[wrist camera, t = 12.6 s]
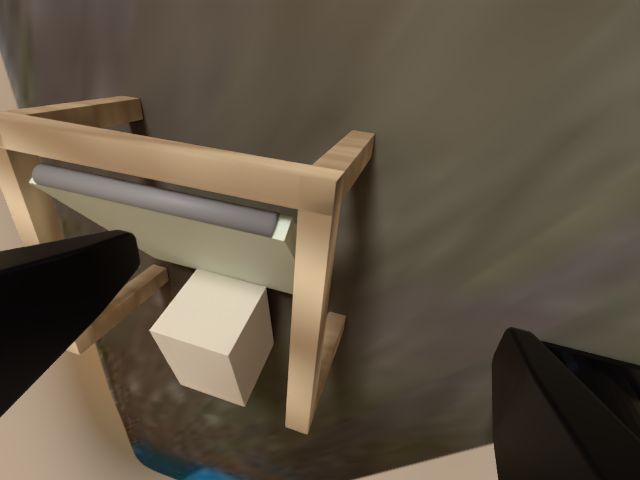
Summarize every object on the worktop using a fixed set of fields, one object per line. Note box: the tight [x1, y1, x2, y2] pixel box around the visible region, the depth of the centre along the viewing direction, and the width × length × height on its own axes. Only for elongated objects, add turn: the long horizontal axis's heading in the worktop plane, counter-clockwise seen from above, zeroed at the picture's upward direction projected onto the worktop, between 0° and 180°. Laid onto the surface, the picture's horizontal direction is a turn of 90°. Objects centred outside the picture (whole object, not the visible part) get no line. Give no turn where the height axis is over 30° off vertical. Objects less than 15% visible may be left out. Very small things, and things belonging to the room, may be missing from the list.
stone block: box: [149, 268, 274, 407], centre depth 23 cm, size 5×5×7 cm
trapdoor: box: [29, 163, 297, 294], centre depth 18 cm, size 10×12×1 cm
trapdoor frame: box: [0, 96, 375, 435], centre depth 19 cm, size 13×15×8 cm
